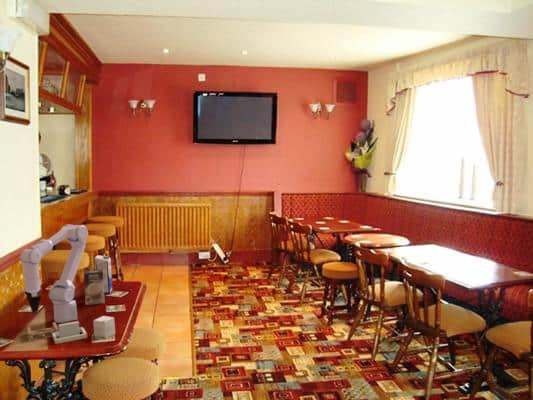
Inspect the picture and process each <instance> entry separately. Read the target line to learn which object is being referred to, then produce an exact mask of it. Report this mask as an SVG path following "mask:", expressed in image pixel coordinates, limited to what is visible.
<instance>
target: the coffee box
mask: <svg viewBox="0 0 533 400" xmlns="http://www.w3.org/2000/svg"><path fill="white" fill-rule="evenodd" d="M83 272H84V274H83V275H84V297H85V299H84V301H85V302H84V303H85V304H84V305H86V306H87V305H89V306H90V305H97V304H98V305H101V304H105V294H104V281H103V269H101V270H95V269H92V270H91V269H90V270H84V271H83ZM100 303H101V304H100Z"/></svg>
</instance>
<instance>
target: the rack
mask: <svg viewBox="0 0 533 400" xmlns="http://www.w3.org/2000/svg"><path fill="white" fill-rule="evenodd" d="M48 330H55V332H59V326H58V325H57V322H55V321H54V322H52V327H49V328H48V327H47V328H43V329H38V330H31V327H30V326H26V332H27V337H28V338H27V339H28V340H29V342H32V341H34V340H33V338H32V333H38V332H43V338H41V339H46V338H49V337H46V338H45V333H44V331H48ZM51 337H52V336H51ZM51 337H50V338H51ZM52 338H53V337H52ZM41 339H40V340H41ZM37 340H38V341H39V339H36V340H35V341H37Z"/></svg>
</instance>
